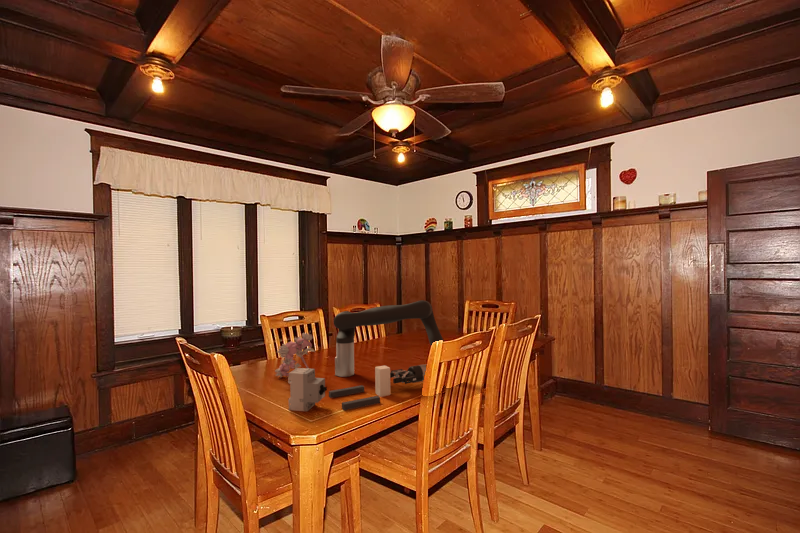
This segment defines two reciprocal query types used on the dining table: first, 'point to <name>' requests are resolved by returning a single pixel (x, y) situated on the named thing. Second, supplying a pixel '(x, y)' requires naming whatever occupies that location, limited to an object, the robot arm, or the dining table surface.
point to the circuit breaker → (305, 389)
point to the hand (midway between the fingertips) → (389, 378)
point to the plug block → (382, 380)
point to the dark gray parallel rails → (354, 403)
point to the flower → (290, 350)
